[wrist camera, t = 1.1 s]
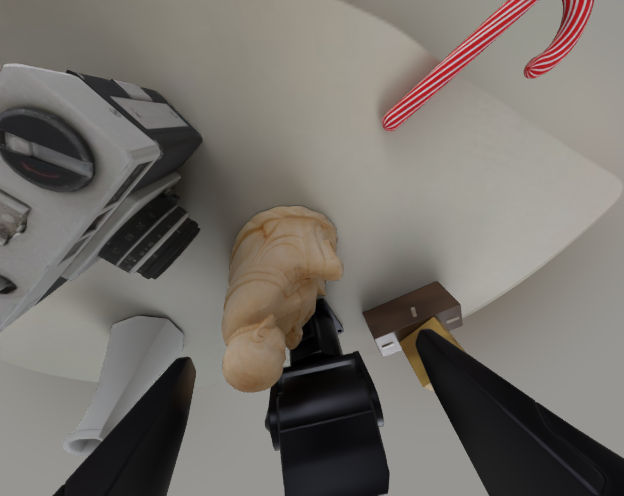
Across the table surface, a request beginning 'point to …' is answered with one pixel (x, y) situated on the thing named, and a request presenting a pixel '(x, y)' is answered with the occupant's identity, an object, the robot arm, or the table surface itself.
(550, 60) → the candy cane
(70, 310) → the table surface
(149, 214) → the camera
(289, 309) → the statue
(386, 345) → the miniature drawer cabinet
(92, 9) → the table surface
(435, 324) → the tan flat block
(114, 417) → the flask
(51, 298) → the table surface
